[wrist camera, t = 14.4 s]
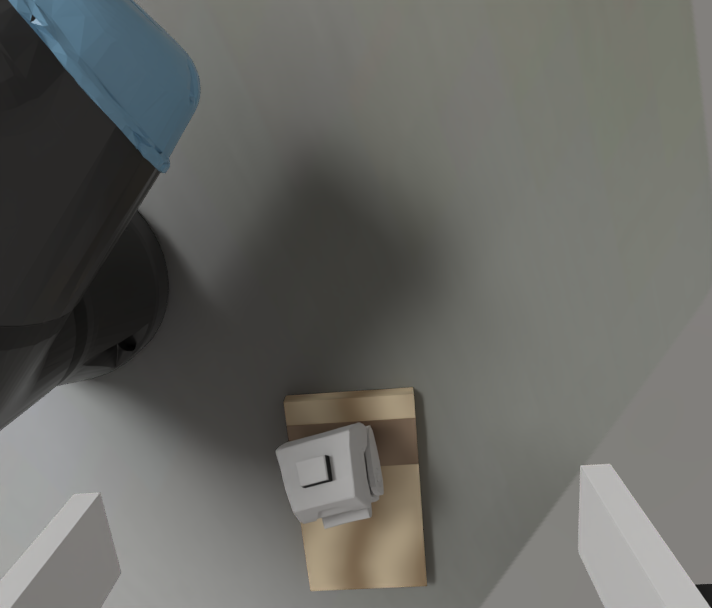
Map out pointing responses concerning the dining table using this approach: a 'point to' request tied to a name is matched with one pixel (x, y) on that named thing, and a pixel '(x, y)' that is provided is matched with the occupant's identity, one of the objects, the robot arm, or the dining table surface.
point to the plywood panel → (389, 514)
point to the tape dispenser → (332, 475)
